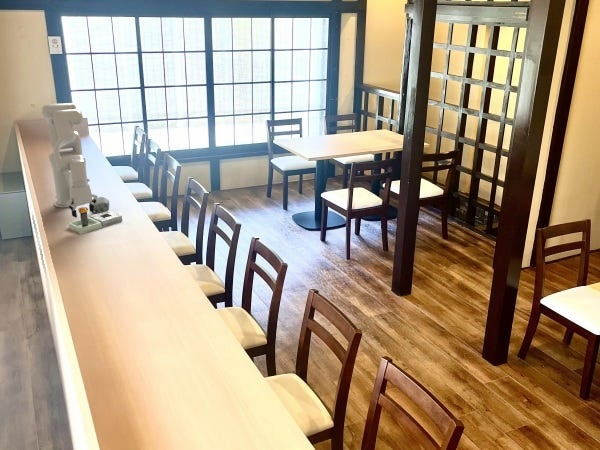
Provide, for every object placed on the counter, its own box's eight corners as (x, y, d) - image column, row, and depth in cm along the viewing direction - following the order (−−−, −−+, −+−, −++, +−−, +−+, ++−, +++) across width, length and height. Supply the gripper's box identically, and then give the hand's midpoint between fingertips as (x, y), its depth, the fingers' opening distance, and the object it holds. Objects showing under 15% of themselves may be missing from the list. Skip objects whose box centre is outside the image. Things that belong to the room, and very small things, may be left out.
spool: (112, 210, 311) (102, 194, 308) (97, 219, 309) (87, 203, 307) (115, 207, 324) (105, 193, 322) (100, 216, 323) (90, 201, 320)
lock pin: (78, 226, 294) (76, 208, 290) (86, 224, 297) (84, 206, 294) (83, 228, 291) (81, 210, 288) (91, 226, 295) (89, 208, 291)
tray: (68, 227, 294) (67, 222, 293) (89, 221, 302) (88, 217, 301) (80, 233, 286) (80, 228, 285) (101, 227, 295) (101, 222, 294)
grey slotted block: (90, 221, 304) (89, 215, 302) (109, 215, 312) (109, 210, 311) (102, 226, 296) (101, 221, 295) (122, 220, 305) (121, 215, 304)
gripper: (91, 178, 294) (94, 208, 300) (59, 185, 282) (64, 216, 288) (99, 181, 290) (102, 212, 296) (67, 188, 277) (71, 220, 284)
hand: (83, 214), depth 292 cm, fingers open, 9 cm apart
